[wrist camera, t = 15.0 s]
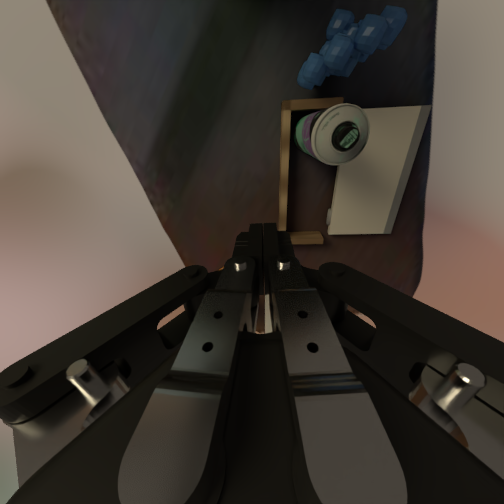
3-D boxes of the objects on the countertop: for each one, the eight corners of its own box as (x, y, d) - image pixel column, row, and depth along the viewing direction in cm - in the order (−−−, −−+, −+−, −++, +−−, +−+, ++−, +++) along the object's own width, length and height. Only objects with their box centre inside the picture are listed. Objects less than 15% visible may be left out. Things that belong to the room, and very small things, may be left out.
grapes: (368, 3, 28) (429, -72, 17) (375, 64, 31) (431, 31, 20) (284, 53, 31) (295, 13, 20) (298, 104, 34) (314, 93, 23)
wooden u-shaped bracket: (281, 103, 34) (283, 100, 31) (336, 99, 33) (343, 96, 30) (278, 236, 46) (279, 244, 43) (318, 236, 45) (322, 243, 42)
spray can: (329, 116, 34) (394, 102, 17) (321, 152, 37) (369, 172, 20) (296, 113, 34) (327, 95, 17) (290, 149, 37) (312, 167, 20)
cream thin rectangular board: (344, 109, 32) (431, 104, 31) (341, 110, 33) (425, 105, 32) (325, 234, 42) (390, 233, 41) (324, 231, 44) (386, 230, 43)
